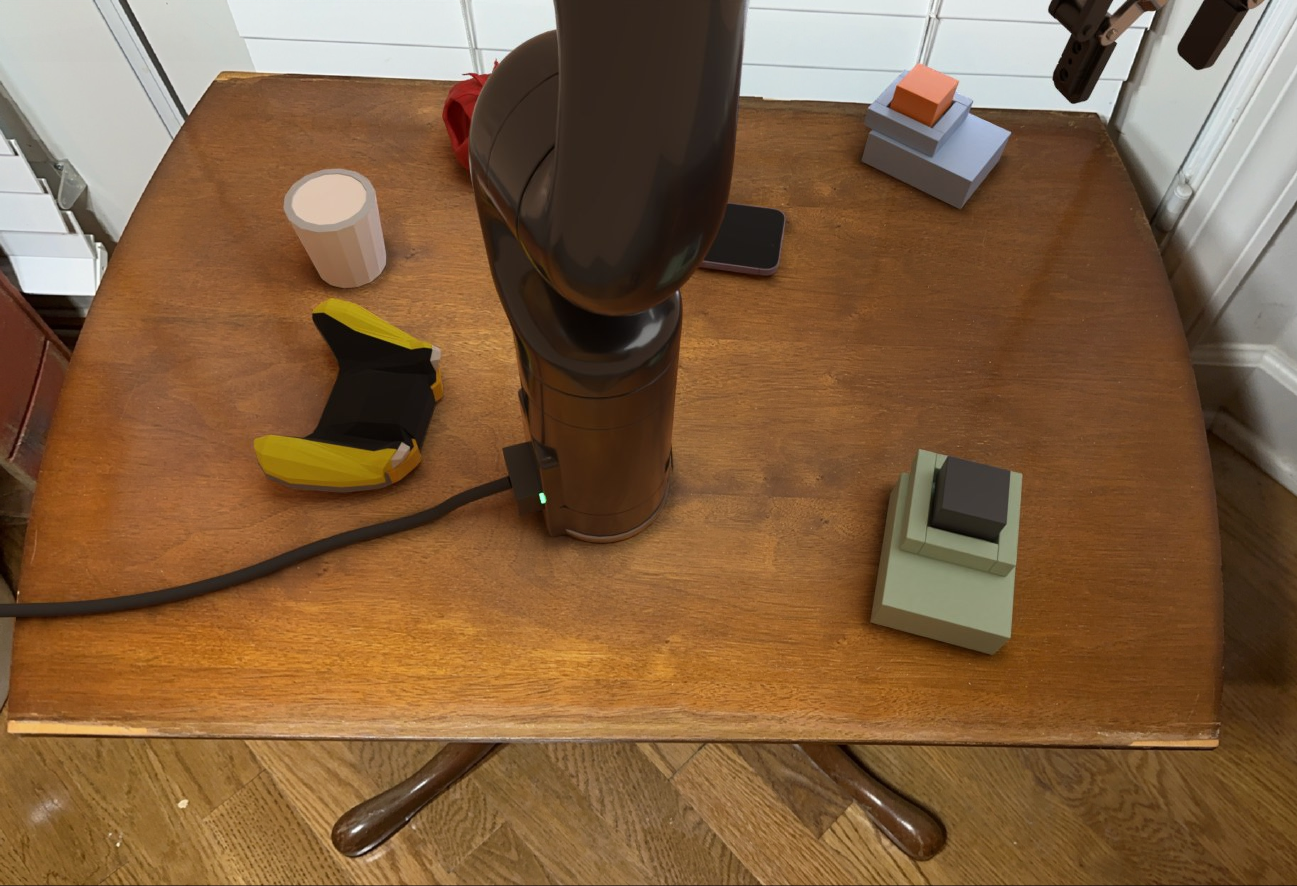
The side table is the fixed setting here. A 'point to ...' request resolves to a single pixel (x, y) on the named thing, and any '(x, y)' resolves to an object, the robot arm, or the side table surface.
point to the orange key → (924, 94)
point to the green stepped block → (944, 568)
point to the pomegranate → (462, 113)
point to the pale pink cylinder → (338, 225)
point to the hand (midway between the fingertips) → (1130, 77)
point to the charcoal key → (971, 498)
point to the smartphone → (747, 240)
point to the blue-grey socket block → (933, 147)
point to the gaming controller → (361, 408)
